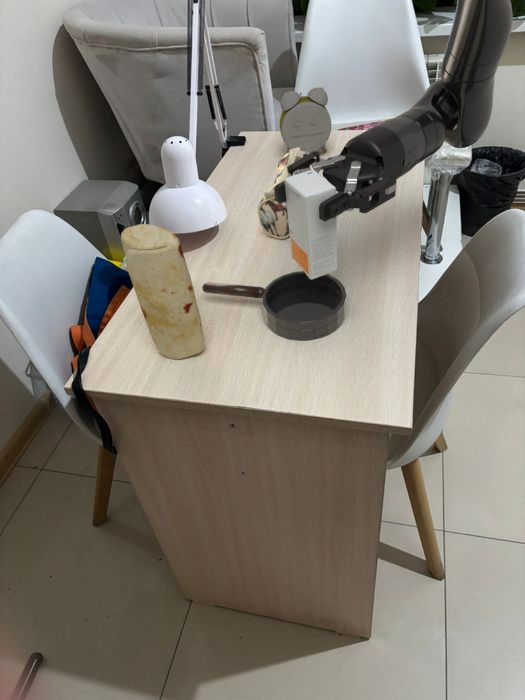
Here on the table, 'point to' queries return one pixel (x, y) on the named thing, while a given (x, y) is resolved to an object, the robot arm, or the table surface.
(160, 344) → the food model
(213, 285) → the pan handle
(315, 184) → the cosmetic box
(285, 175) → the pencil case
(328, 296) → the frying pan
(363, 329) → the table surface
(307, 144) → the alarm clock
